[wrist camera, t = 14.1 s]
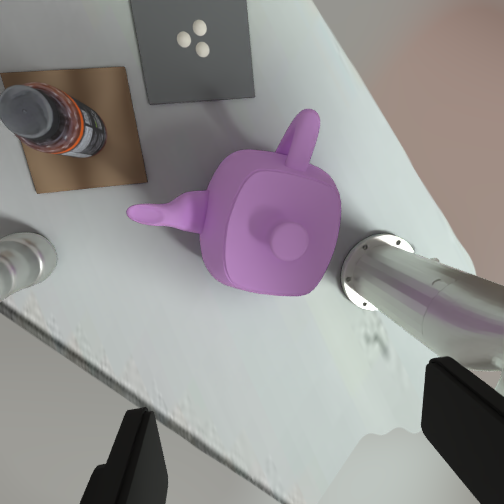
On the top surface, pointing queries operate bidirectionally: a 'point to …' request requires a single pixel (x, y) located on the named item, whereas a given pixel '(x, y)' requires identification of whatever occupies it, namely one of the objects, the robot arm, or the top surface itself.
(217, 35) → the dot mat
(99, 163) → the walnut board
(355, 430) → the top surface
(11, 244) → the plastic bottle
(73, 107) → the supplement bottle
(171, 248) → the top surface
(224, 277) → the teapot
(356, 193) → the top surface
